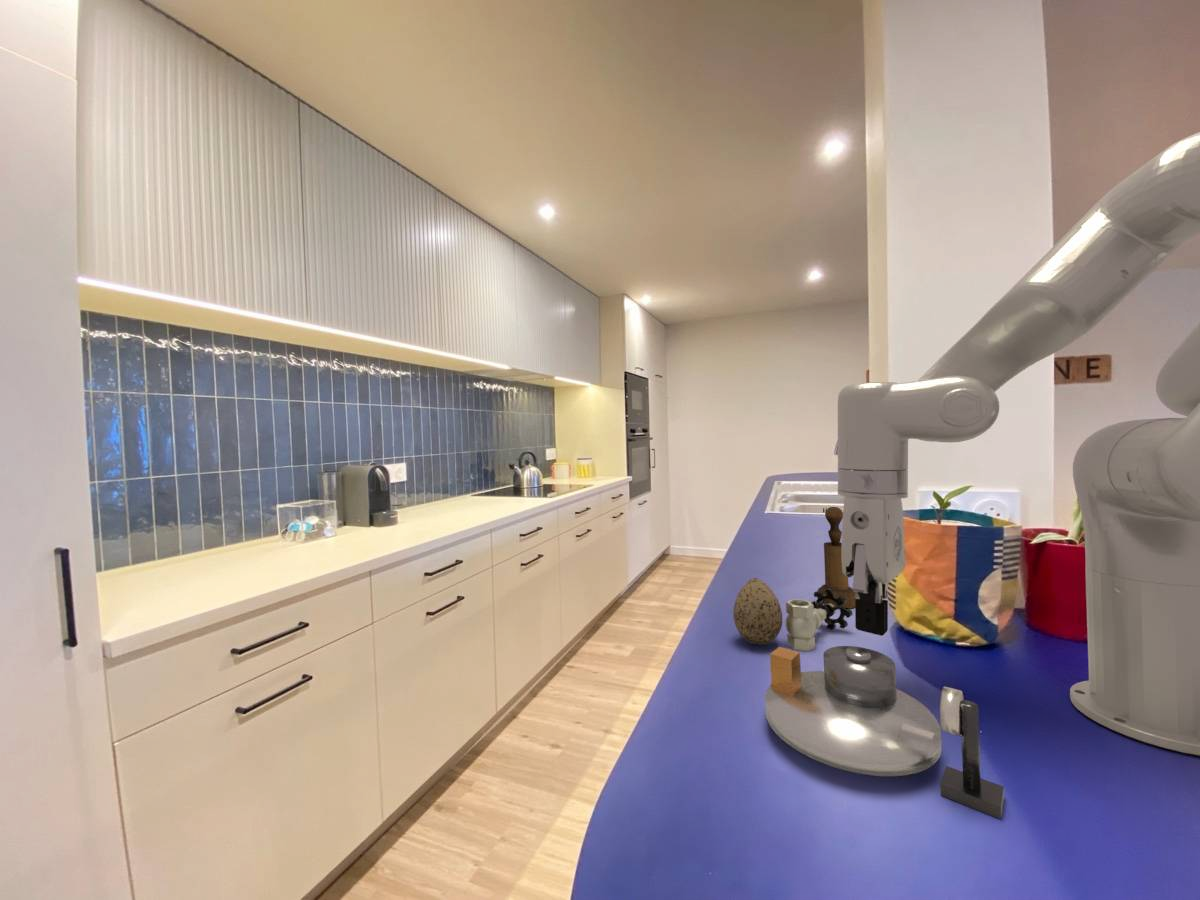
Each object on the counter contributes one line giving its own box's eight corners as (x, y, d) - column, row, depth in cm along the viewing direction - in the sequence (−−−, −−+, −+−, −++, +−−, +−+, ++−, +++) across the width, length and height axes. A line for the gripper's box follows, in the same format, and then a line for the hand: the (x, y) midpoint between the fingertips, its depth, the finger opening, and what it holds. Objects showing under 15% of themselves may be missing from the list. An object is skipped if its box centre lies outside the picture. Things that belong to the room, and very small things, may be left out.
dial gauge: (1004, 796, 40) (1001, 694, 40) (1000, 821, 38) (997, 712, 38) (947, 774, 43) (943, 679, 43) (940, 797, 41) (936, 695, 41)
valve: (815, 658, 67) (853, 634, 75) (814, 611, 67) (852, 592, 75) (773, 643, 72) (812, 622, 80) (771, 601, 72) (811, 584, 80)
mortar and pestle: (858, 600, 89) (855, 505, 89) (856, 611, 84) (852, 510, 84) (820, 595, 93) (816, 504, 93) (815, 606, 87) (811, 508, 87)
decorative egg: (724, 640, 74) (722, 577, 74) (758, 630, 77) (756, 569, 77) (758, 657, 68) (755, 588, 68) (794, 646, 71) (791, 580, 71)
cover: (903, 688, 53) (902, 650, 52) (887, 716, 48) (885, 673, 47) (836, 669, 57) (835, 634, 57) (815, 693, 52) (813, 654, 52)
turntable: (954, 716, 49) (952, 664, 49) (922, 804, 38) (919, 737, 38) (799, 670, 61) (798, 627, 61) (738, 727, 49) (736, 675, 49)
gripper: (890, 491, 50) (890, 661, 51) (920, 481, 61) (920, 621, 62) (817, 486, 56) (817, 641, 56) (857, 478, 66) (856, 607, 67)
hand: (871, 630), depth 59 cm, fingers closed
